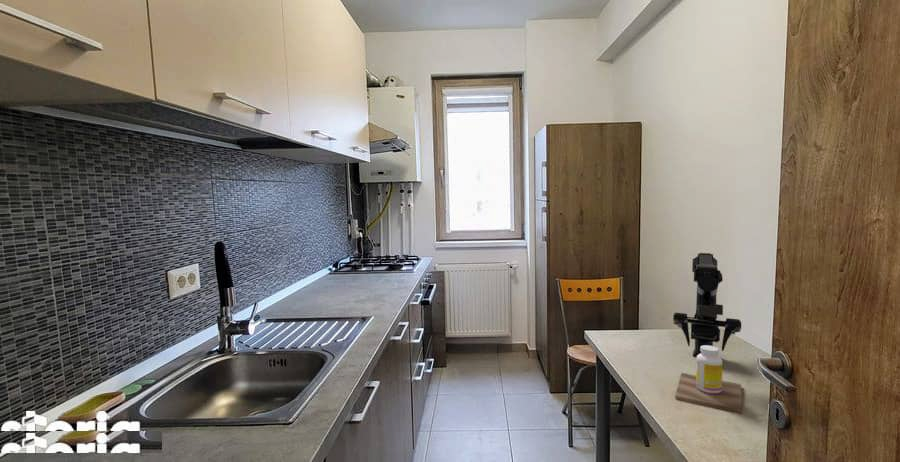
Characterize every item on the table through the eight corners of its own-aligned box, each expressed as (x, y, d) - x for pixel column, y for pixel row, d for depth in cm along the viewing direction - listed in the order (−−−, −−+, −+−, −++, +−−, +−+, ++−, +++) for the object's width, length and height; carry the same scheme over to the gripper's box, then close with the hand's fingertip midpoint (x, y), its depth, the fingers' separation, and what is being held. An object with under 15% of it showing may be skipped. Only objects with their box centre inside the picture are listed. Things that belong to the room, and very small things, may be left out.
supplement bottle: (727, 392, 123) (728, 350, 121) (709, 396, 121) (711, 353, 120) (707, 382, 129) (708, 342, 128) (690, 386, 127) (691, 345, 126)
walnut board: (681, 375, 137) (681, 372, 137) (740, 387, 128) (740, 384, 128) (675, 398, 122) (675, 395, 122) (741, 413, 113) (741, 410, 113)
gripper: (673, 290, 137) (671, 337, 131) (742, 296, 127) (743, 347, 122) (674, 301, 146) (672, 345, 140) (739, 307, 136) (740, 355, 130)
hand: (705, 348), depth 133 cm, fingers open, 9 cm apart
